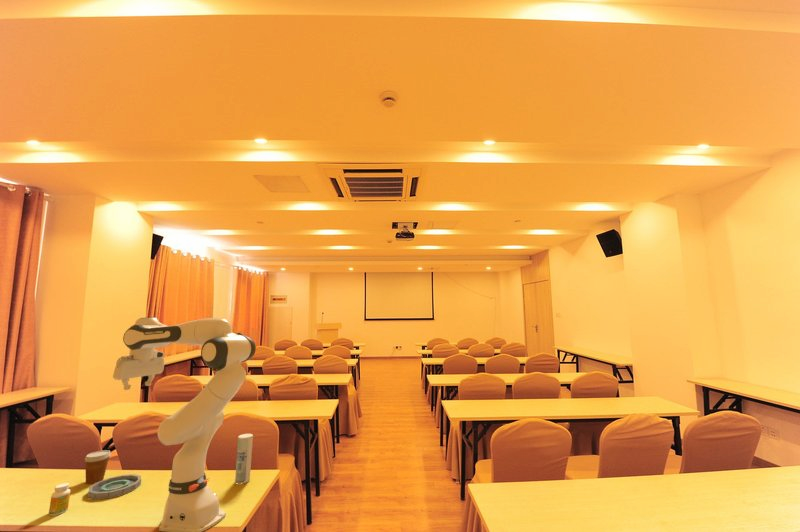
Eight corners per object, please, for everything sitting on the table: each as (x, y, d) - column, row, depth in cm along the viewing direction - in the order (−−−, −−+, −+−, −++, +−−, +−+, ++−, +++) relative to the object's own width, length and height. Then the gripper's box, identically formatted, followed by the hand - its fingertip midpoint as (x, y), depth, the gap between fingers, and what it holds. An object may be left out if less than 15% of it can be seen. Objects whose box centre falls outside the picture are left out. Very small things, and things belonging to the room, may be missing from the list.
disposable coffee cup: (75, 486, 154) (79, 458, 156) (89, 477, 163) (93, 450, 165) (99, 484, 156) (103, 456, 158) (112, 475, 165) (115, 449, 167)
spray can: (231, 483, 157) (235, 437, 160) (241, 477, 163) (245, 433, 166) (243, 485, 155) (246, 438, 158) (253, 479, 161) (256, 434, 164)
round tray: (149, 483, 157) (150, 477, 157) (105, 502, 140) (106, 496, 140) (123, 477, 163) (124, 472, 163) (78, 495, 146) (78, 489, 146)
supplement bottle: (55, 516, 130) (59, 489, 131) (44, 515, 131) (48, 487, 132) (71, 509, 135) (75, 482, 137) (60, 508, 136) (64, 481, 138)
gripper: (123, 357, 138) (118, 392, 136) (168, 352, 158) (164, 383, 156) (111, 356, 140) (106, 391, 137) (157, 352, 159) (153, 383, 157)
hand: (137, 387), depth 147 cm, fingers open, 8 cm apart
